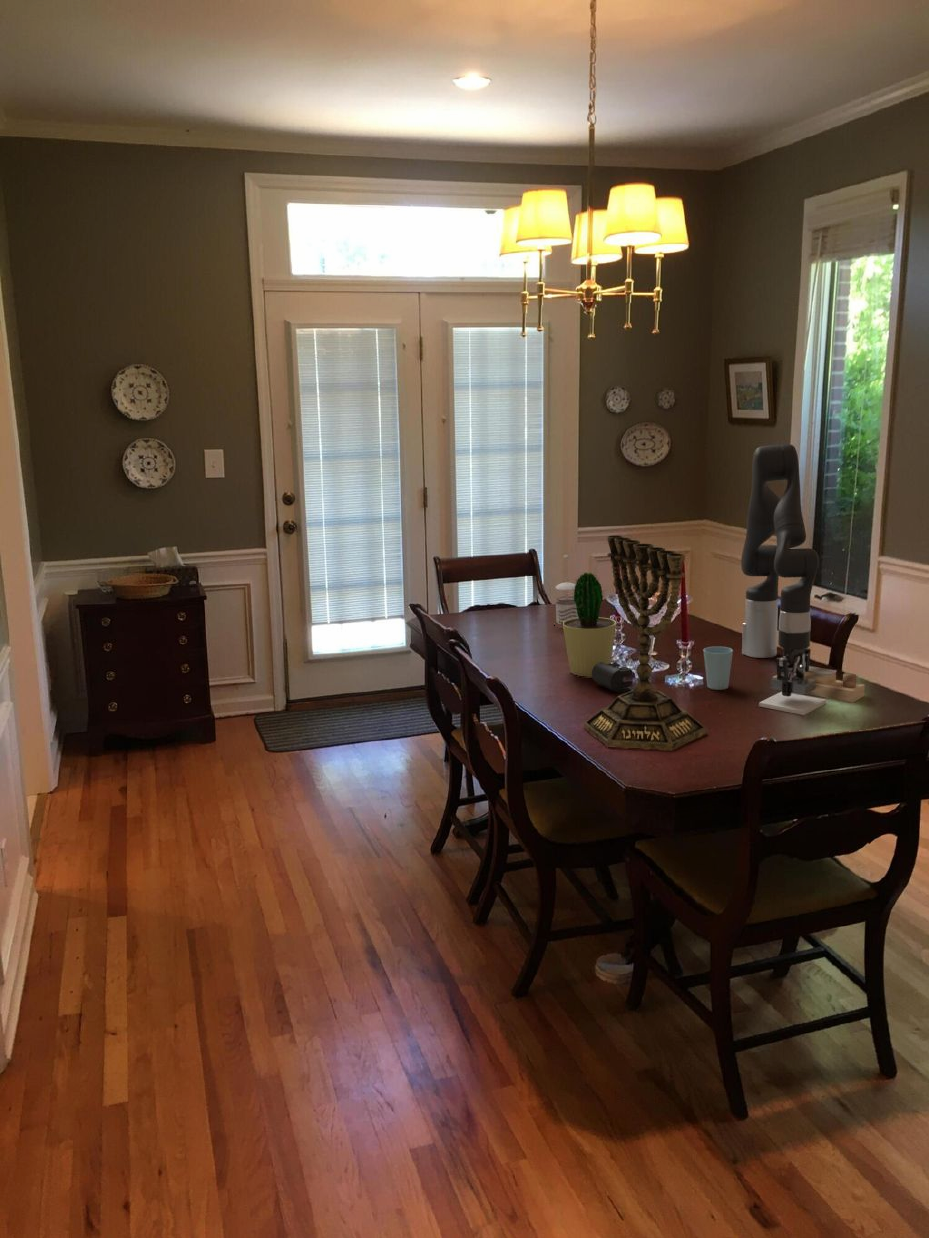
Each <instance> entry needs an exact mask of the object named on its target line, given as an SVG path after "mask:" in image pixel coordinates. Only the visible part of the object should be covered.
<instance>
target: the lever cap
mask: <svg viewBox="0 0 929 1238" xmlns="http://www.w3.org/2000/svg"><path fill="white" fill-rule="evenodd" d="M788 677H789V675H788ZM791 682H792V688H791V693H793V694H798V695H804V696H806V695H808V694H807V693H809V692H811V691H813V690H815V686H816V680H815V679H809V678H803V677H797V676H794V675H793V677H792V681H791ZM770 689H771V690H776V691H780V692H782V681H780V680H777V677H775V678H773V679H772V678H771V679H770Z"/></svg>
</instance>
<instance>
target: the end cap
mask: <svg viewBox="0 0 929 1238" xmlns="http://www.w3.org/2000/svg"><path fill="white" fill-rule="evenodd" d="M632 676H633V670H632V668H630V667H627V666H624V667H621V664H620V663H617V662H611V663H610V664H605V663H603V662H599V663H597V664H596V665H595V666H594V667H593V670H592V677H591V678H592V680H593V681H594V682H595V683H596V684H598V685H600V686H601V687H603V688H604V689H608V690H610V691H612V692H614V693H617V694H624V693H627V692H630V691H632V688H631V687H633V680H631V679H629V680H625V681H624V678H628V677H632Z"/></svg>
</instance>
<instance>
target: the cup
mask: <svg viewBox="0 0 929 1238" xmlns="http://www.w3.org/2000/svg"><path fill="white" fill-rule="evenodd" d="M702 651H703V658H704V669H705V678H706V686H707V688H709V689H711V690H716V691H718V690H726V689H728V688H729V684H730V683H729V682H730V678H731V677H730V675H731V669H732V668H731V667H732V659H733V654H734V653H733V652H734V650H733V649H732V648H731V647H727V646H708V647H705V648H703V649H702Z"/></svg>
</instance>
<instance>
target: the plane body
mask: <svg viewBox="0 0 929 1238" xmlns="http://www.w3.org/2000/svg"><path fill="white" fill-rule="evenodd" d="M782 657H783V656H781V657H780V658H782ZM788 669H790V668H788ZM790 670H791V669H790ZM781 674H782V672H781ZM788 675H789V673H788ZM793 675H796V674H793ZM775 677H777V674H776V675H774V676H772V677H771V679H773V678H775ZM836 677H837V669H829V668H822V667H816V666H811V665H809V671H808V672H806V674H805V676H804V678H809V679H815V680H816V686H815V690H813V691H811V692H809V693H807V694H806V695H807V696H810V695H811V696H814V697H820V698H824V699H825V698H826V699H831V700H837V701H842V702H848V703H854V702H857V700H859V699H861V698H864V696H865V686H866V685H865V684H864V683H863V684H862V683H857V674H855V673H846V672H845V673H843V674H842V680H839V679H837V678H836Z"/></svg>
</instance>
